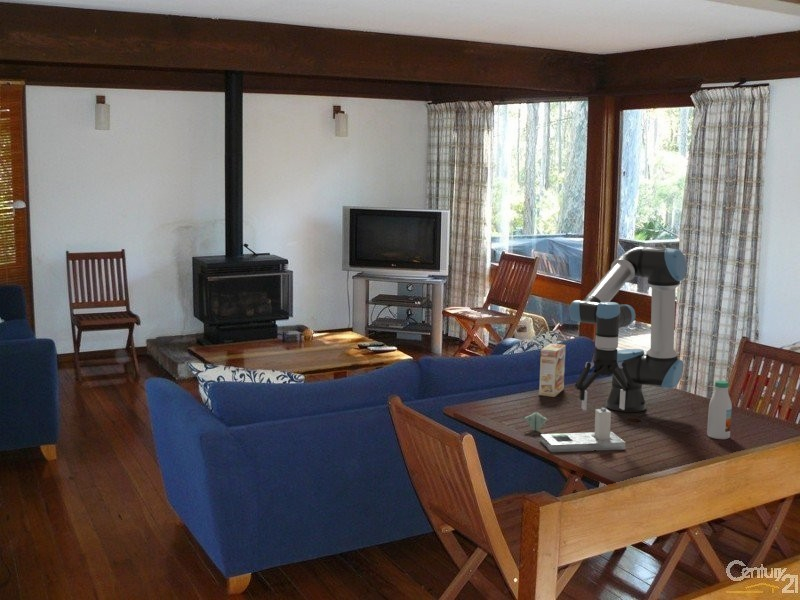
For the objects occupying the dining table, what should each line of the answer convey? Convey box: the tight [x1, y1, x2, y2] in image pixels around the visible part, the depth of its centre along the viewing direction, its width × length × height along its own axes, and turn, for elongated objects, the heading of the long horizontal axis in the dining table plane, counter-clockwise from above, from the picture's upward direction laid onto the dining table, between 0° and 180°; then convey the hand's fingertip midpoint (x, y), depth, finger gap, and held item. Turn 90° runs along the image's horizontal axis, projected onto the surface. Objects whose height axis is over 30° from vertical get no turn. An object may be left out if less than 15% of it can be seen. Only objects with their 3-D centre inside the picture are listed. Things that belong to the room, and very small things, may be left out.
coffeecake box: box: [538, 342, 567, 398], centre depth 374 cm, size 15×7×20 cm, turn 155°
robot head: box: [524, 411, 548, 432], centre depth 321 cm, size 8×4×7 cm, turn 78°
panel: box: [539, 431, 626, 453], centre depth 305 cm, size 26×12×3 cm, turn 99°
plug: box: [594, 407, 612, 440], centre depth 305 cm, size 4×4×13 cm
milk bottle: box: [706, 380, 733, 440], centre depth 315 cm, size 8×8×20 cm
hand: (602, 409), depth 304 cm, fingers open, 13 cm apart
